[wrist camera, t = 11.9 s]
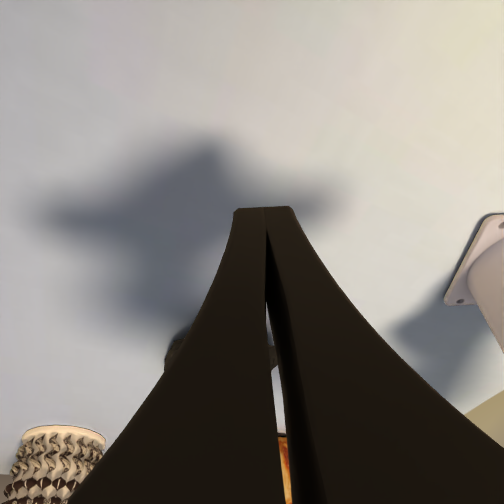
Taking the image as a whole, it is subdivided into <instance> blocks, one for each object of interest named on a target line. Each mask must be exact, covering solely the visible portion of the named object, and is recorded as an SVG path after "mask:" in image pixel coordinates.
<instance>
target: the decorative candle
mask: <svg viewBox="0 0 504 504" xmlns="http://www.w3.org/2000/svg"><path fill="white" fill-rule="evenodd" d="M22 442H23V446H21V447H19V449H18V453H17V454H16V458H17V460H18V461H17V462H16V463H14V464H13V466H12V469H11V471H10V475H11V476H12V478H13V480H14V483H12V484H9V485H7V486H6V488H5V490H4V495H5V496H6V497H7V498H8V501H6V502H4V503H2V504H67V502H68V499H69V498H70V496H71V495H72V493H73V492H74V491H75V490H76V488H77V487H78V486H79V485H80V483H81V482H82V481H83V480H84V479H85V477H86V476H87V475H88V474H89V472H90V471H91V470H92V469H93V467H94V466H95V465H96V464H97V463H98V461H99V460H100V459H101V458H102V456H103V453H102V450H103V449H104V448H105V439H104V438H103V437H102V436H101V435H100V434H98V433H95V432H93V431H91V430H88V429H83V428H78V427H73V426H58V425H52V426H42V427H37V428H34V429H31V430H28V431H27V432H26V433H25V434H24V435H23V436H22Z"/></svg>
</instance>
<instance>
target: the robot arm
mask: <svg viewBox="0 0 504 504" xmlns="http://www.w3.org/2000/svg"><path fill="white" fill-rule="evenodd" d="M266 302H267V308H268V313H269V319H270V325H271V330H272V336H273V341H274V347H275V352H276V358H277V363H278V369H279V374H280V380H281V387H282V394H283V403H284V414H285V425H286V437H287V448H288V460H289V472H290V484H291V497H292V504H504V448H503V447H501V446H500V445H499V444H498V443H497V442H495V441H494V440H493V439H492V438H490V437H489V436H488V435H487V434H486V433H484V432H483V431H482V430H481V429H479V428H478V427H477V426H476V425H475V424H473V423H472V422H471V421H470V420H469V419H467V418H466V417H465V416H464V415H463V414H462V413H461V412H459V411H458V410H457V409H456V408H455V407H454V406H452V405H451V404H450V403H449V402H448V401H447V400H445V399H444V398H443V397H442V396H441V395H440V394H439V393H438V392H437V391H436V390H435V389H433V388H432V387H431V386H430V385H429V384H428V383H427V382H426V381H425V380H424V379H423V378H422V377H421V376H420V375H419V374H418V373H417V372H416V371H414V370H413V369H412V368H411V367H410V366H409V365H408V364H407V363H406V362H405V361H404V360H403V359H402V358H401V357H400V356H399V355H398V354H397V353H396V352H395V351H394V350H393V349H392V348H391V347H390V346H389V345H388V344H387V343H386V341H385V340H384V339H383V338H382V337H381V336H380V335H379V334H378V333H377V332H376V331H375V329H374V328H373V327H372V326H371V325H370V324H369V323H368V322H367V320H366V319H365V318H364V317H363V316H362V315H361V313H360V312H359V311H358V310H357V309H356V307H355V306H354V305H353V304H352V302H351V301H350V300H349V299H348V297H347V296H346V295H345V293H344V292H343V291H342V289H341V288H340V287H339V285H338V284H337V283H336V281H335V280H334V279H333V277H332V276H331V274H330V273H329V271H328V270H327V268H326V267H325V265H324V264H323V262H322V261H321V259H320V258H319V256H318V255H317V253H316V252H315V250H314V249H313V247H312V245H311V244H310V242H309V240H308V238H307V237H306V235H305V233H304V231H303V230H302V228H301V226H300V224H299V222H298V220H297V218H296V216H295V214H294V211H293V209H292V208H290V207H289V206H277V207H256V208H238V209H237V210H236V211H235V212H234V213H233V222H232V227H231V231H230V235H229V239H228V242H227V245H226V249H225V252H224V254H223V257H222V260H221V262H220V265H219V268H218V270H217V273H216V276H215V278H214V280H213V283H212V285H211V287H210V289H209V291H208V294H207V296H206V298H205V300H204V302H203V305H202V307H201V309H200V311H199V313H198V315H197V317H196V319H195V320H194V322H193V324H192V326H191V328H190V330H189V331H188V333H187V335H186V337H185V339H184V340H183V342H182V344H181V346H180V347H179V349H178V351H177V352H176V354H175V355H174V357H173V359H172V360H171V362H170V363H169V365H168V367H167V368H166V370H165V372H164V373H163V375H162V376H161V378H160V379H159V381H158V382H157V384H156V385H155V387H154V388H153V390H152V391H151V392H150V394H149V395H148V397H147V398H146V399H145V401H144V402H143V404H142V405H141V406H140V408H139V409H138V410H137V412H136V413H135V415H134V416H133V417H132V419H131V420H130V422H129V423H128V424H127V426H126V427H125V429H124V430H123V431H122V432H121V434H120V435H119V436H118V438H117V439H116V440H115V442H114V443H113V444H112V445H111V447H110V448H109V449H108V450H107V451H106V453H105V454H104V455H103V456H102V458H101V459H100V460H99V461H98V463H97V464H96V465H95V466H94V467H93V469H92V470H91V471H90V472H89V474H88V475H87V476H86V477H85V479H84V480H83V481H82V482H81V483H80V485H79V486H78V487H77V488H76V490H75V491H74V492H73V493H72V495H71V496H70V498H69V499H68V502H67V504H286V500H285V492H284V483H283V475H282V466H281V458H280V449H279V441H278V432H277V423H276V414H275V405H274V396H273V387H272V377H271V368H270V358H269V349H268V339H267V328H266ZM444 302H445V304H446V305H448V306H455V305H474V304H477V305H478V307H479V308H480V310H481V312H482V314H483V316H484V318H485V320H486V321H487V323H488V325H489V327H490V329H491V331H492V333H493V334H494V336H495V338H496V340H497V342H498V344H499V346H500V347H501V349H502V351H503V353H504V215H492V216H489V217H487V218H486V219H485V220H484V221H483V223H482V225H481V227H480V229H479V231H478V233H477V235H476V237H475V239H474V241H473V242H472V244H471V246H470V248H469V250H468V252H467V254H466V256H465V258H464V260H463V262H462V264H461V266H460V268H459V270H458V272H457V273H456V275H455V277H454V279H453V281H452V283H451V285H450V287H449V289H448V291H447V293H446V295H445V297H444Z"/></svg>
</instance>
